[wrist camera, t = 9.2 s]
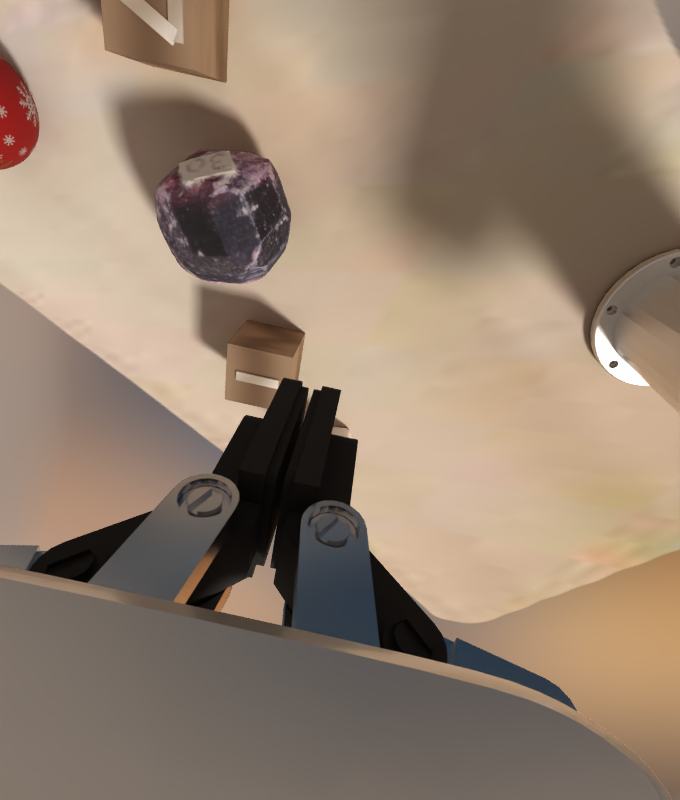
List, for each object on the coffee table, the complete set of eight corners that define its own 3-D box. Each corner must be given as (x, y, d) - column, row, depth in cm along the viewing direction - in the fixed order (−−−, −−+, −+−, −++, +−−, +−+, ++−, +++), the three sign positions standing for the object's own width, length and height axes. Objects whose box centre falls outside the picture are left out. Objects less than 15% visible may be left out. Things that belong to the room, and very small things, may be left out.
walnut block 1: (305, 332, 42) (292, 358, 37) (297, 382, 45) (284, 413, 40) (247, 319, 42) (226, 344, 37) (244, 371, 45) (224, 400, 40)
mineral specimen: (325, 173, 33) (278, 242, 27) (281, 264, 41) (238, 331, 35) (212, 95, 31) (135, 150, 25) (190, 207, 39) (128, 268, 33)
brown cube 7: (230, -24, 29) (194, -62, 24) (226, 82, 32) (194, 69, 27) (146, -42, 29) (91, -85, 24) (150, 66, 32) (103, 49, 27)
